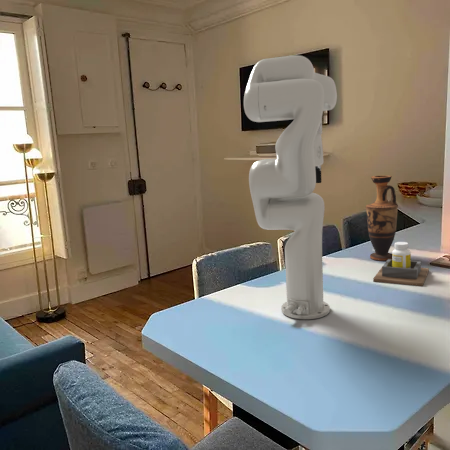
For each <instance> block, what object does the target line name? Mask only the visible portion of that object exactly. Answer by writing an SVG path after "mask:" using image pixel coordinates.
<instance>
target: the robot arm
mask: <svg viewBox="0 0 450 450" xmlns="http://www.w3.org/2000/svg"><path fill="white" fill-rule="evenodd" d="M244 90H245V91H244V94H243V95H244V96H243V110H244V113H245V115H246V117H247V118H248V119H249V120H250V121H252V122H254V123H255V122H256V123H265V122H277V121H278V122H279V121H289V120H293V121H292V122H291V123H290V124H289V125H288V126H287V127H285V129H284V130H283V131H282V132H281V134H280V135H279V137H278V139H277V140H276V142H275V146H274V147H275V149H274V150H275V155H276V158H265V159H258V160H257V161H255V162H253V164H252V165H251V166H250V168H249V172H248V173H249V174H248V185H249V186H248V187H249V191H250V196H251V202H252V205H253V210H254V215H255V219H256V220H255V221H256V222H257V225H258V226H259V228H261V229H263V230H269V231H270V230H271V231H273V230H274V231H275V230H276V231H277V230H278V231H280V230H281V231H282V230H283V231H284V230H286V231H287V230H289V231H294V232H293V234H291V236H290V237H289V238H288V239H287V241H286V243H285V246H284V260H285V261H284V262H285V263H284V264H285V283H286V284H285V285H286V287H285V288H286V301H285V302H284V303H282V305H281V312H282V314H283V315H284V316H287V317H289V318H291V319H297V320H315V319H319V318H323V317H326V316H327V315H328V314H329V313H330V310H331V308H330V305H329V304H328V303H327V302H326V301H324V274H323V273H324V269H323V265H324V264H323V229H324V228H323V227H324V226H323V225H324V219H325V217H324V216H325V209H326V207H325V201H324V198H323V197H322V196H321V195H320V194H318V193H315V192H314V190H315V189H316V185H317V184H321V183H322V165H323V164H324V161H325V160H324V149H323V148H324V147H323V139H322V134H323V121H322V120H323V119H322V118H323V115H324V114H323V112H325V111H326V112H327V111H331V110H333V109H335V107H336V104H337V100H338V93H337V86H336V83H335V81H334V79H333V78H332V77H330V76H329V75H325V74H322V73H321V74H320V73H318V72H315V69H314V66H313V64H312V62H311V60H310V59H309V58H308V57H306V56H303V55H296V54H295V55H293V54H292V55H287V56H280V57H279V56H277V57H272V58H271V57H270V58H263V59H261V60H259V61H258V62H257V63H255V65H254V66H253V68H252V70H251V72H250V75H249V78H248V81H247V83H246V87H245V89H244Z"/></svg>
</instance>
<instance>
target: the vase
mask: <svg viewBox="0 0 450 450" xmlns="http://www.w3.org/2000/svg"><path fill="white" fill-rule="evenodd" d="M370 179H371V180H372V183H374V184H375V185H376V199H375V201H374V202H373V203H369V204H366V205H365V210H366V220H367V222H366V223H367V232H368V237H369V240H370V243H371V245H372V247H373V250H374V252H373V253H371V254H370V256H369V257H370V259H371V260H372V261H373V260H374V261H379V262H386V261H387V260H388V259H392V252H389V251H390V248H391V247H392V245H393V242H394V241H395V236H396V233H397V223H398V222H397V221H398V208H399V205H398V203H397V196H396V190H395V188H394V187H393V186H392V185H389V183H390V181H391V180H392V175H386V174H385V175H372V176H371V177H370ZM389 190H390V192H391V198H390V200H389V201H388V191H389Z"/></svg>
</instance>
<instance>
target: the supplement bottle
mask: <svg viewBox="0 0 450 450" xmlns="http://www.w3.org/2000/svg"><path fill="white" fill-rule="evenodd" d="M408 248H409V243H408V242H407V241H396V242H394V249H393V250H392V251H391V254H392V267H399V268H411V261H412V260H411V253H412V252H411V251H410V249H408Z"/></svg>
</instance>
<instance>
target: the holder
mask: <svg viewBox="0 0 450 450" xmlns="http://www.w3.org/2000/svg"><path fill="white" fill-rule="evenodd" d="M429 272H430V268H428V267H422V260H411V268H399V267H392V259H388V260H387V261H385V262H384V264H383V265H382V266H381V268H380V269H379V271H378V272H377V273H376V274H375V275H374V277H373V279H372V280H373V282H374V283H382V284H383V283H385V284H396V285H403V286H404V285H406V286H413V287H414V286H415V287H417V286H418V287H423V286H424V283H425V282H426V279H427V277H428V274H429Z"/></svg>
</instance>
